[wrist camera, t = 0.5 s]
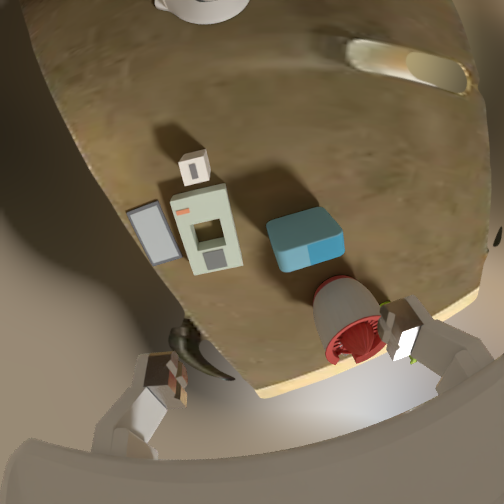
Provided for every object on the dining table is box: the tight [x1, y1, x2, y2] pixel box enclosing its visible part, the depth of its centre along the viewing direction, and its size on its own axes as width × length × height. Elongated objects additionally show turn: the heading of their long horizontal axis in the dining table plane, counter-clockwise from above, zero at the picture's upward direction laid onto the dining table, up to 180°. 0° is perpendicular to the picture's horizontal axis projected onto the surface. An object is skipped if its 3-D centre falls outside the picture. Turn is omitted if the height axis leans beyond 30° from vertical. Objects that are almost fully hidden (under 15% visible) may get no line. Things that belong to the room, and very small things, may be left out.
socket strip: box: [170, 183, 243, 275], centre depth 52 cm, size 16×10×4 cm, turn 10°
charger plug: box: [178, 149, 211, 186], centre depth 43 cm, size 4×4×7 cm
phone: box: [127, 200, 183, 266], centre depth 53 cm, size 13×7×1 cm, turn 15°
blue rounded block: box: [266, 207, 345, 272], centre depth 50 cm, size 12×4×12 cm, turn 106°
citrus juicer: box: [313, 275, 386, 365], centre depth 58 cm, size 16×17×20 cm
